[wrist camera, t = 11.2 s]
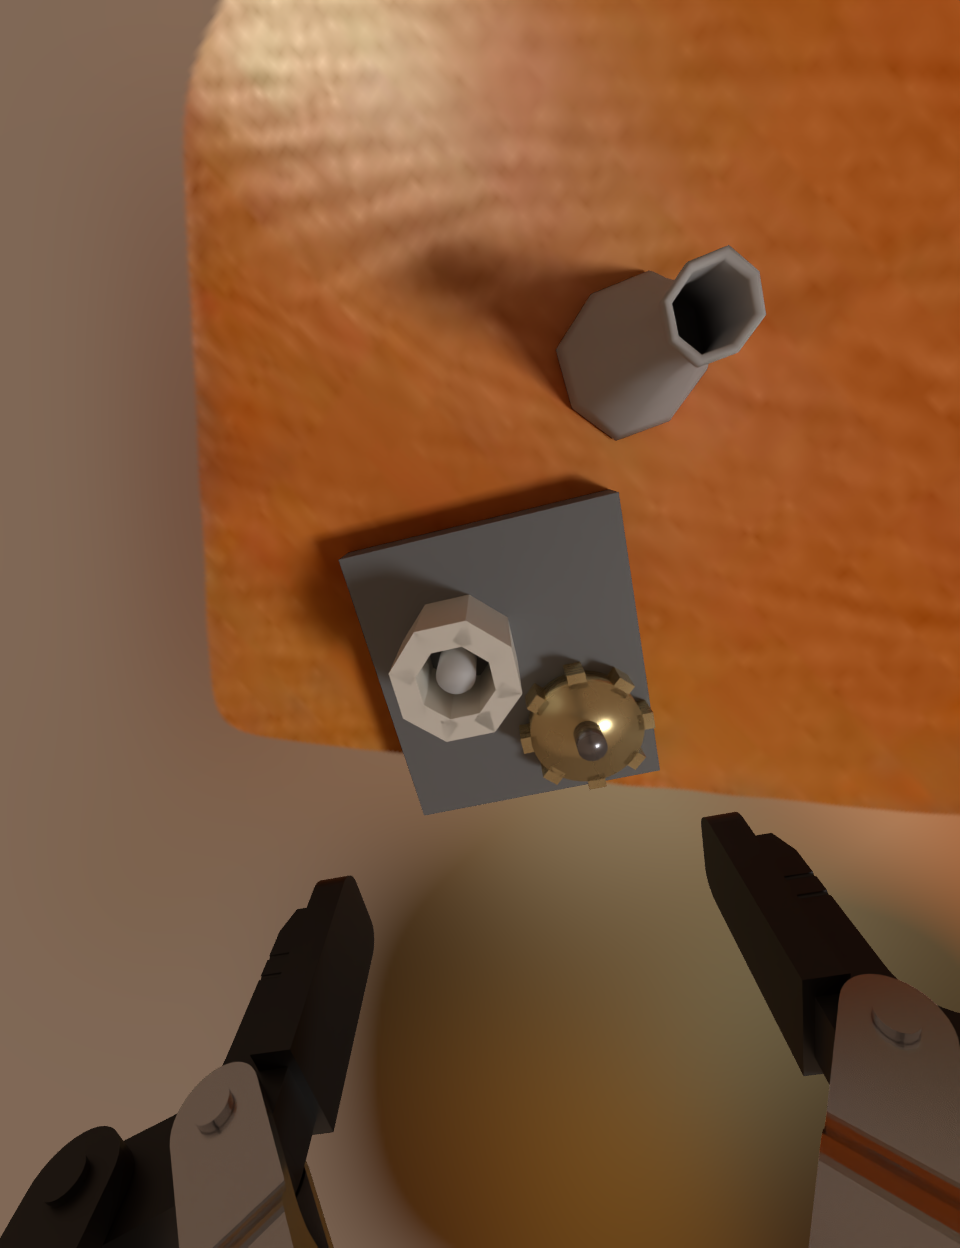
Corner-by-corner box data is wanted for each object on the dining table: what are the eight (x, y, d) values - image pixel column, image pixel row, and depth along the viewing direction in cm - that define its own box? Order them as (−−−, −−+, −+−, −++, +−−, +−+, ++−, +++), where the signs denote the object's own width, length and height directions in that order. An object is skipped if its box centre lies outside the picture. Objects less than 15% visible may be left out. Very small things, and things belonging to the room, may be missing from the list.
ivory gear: (394, 611, 28) (377, 640, 24) (500, 587, 27) (503, 612, 23) (423, 706, 30) (412, 748, 25) (523, 685, 29) (529, 725, 25)
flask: (530, 347, 25) (555, 285, 16) (653, 240, 24) (762, 102, 14) (609, 465, 27) (675, 473, 18) (729, 374, 26) (871, 328, 16)
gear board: (348, 552, 29) (317, 575, 24) (609, 489, 27) (638, 498, 22) (427, 795, 34) (417, 857, 29) (649, 751, 33) (680, 808, 28)
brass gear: (507, 677, 29) (509, 701, 26) (637, 649, 28) (654, 671, 25) (533, 784, 31) (537, 817, 28) (654, 760, 31) (671, 792, 28)
